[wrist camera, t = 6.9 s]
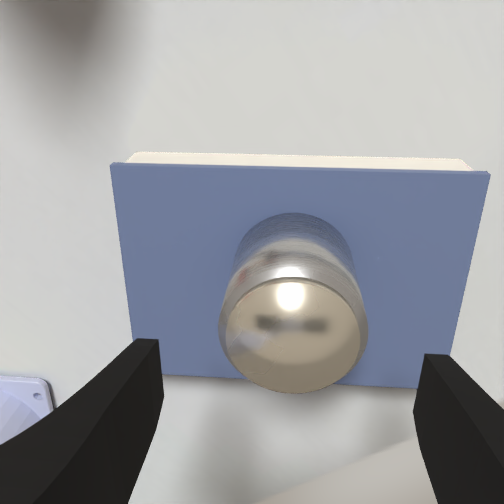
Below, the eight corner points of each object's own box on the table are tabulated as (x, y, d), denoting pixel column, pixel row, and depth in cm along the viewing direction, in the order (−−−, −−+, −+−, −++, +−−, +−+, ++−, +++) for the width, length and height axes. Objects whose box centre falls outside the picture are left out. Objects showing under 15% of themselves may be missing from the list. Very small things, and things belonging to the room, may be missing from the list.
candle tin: (351, 317, 20) (366, 401, 16) (238, 317, 21) (222, 399, 16) (354, 210, 18) (374, 272, 14) (229, 214, 19) (209, 274, 14)
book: (425, 348, 24) (441, 389, 22) (154, 334, 25) (137, 372, 23) (464, 153, 20) (490, 174, 17) (133, 146, 21) (109, 165, 18)
